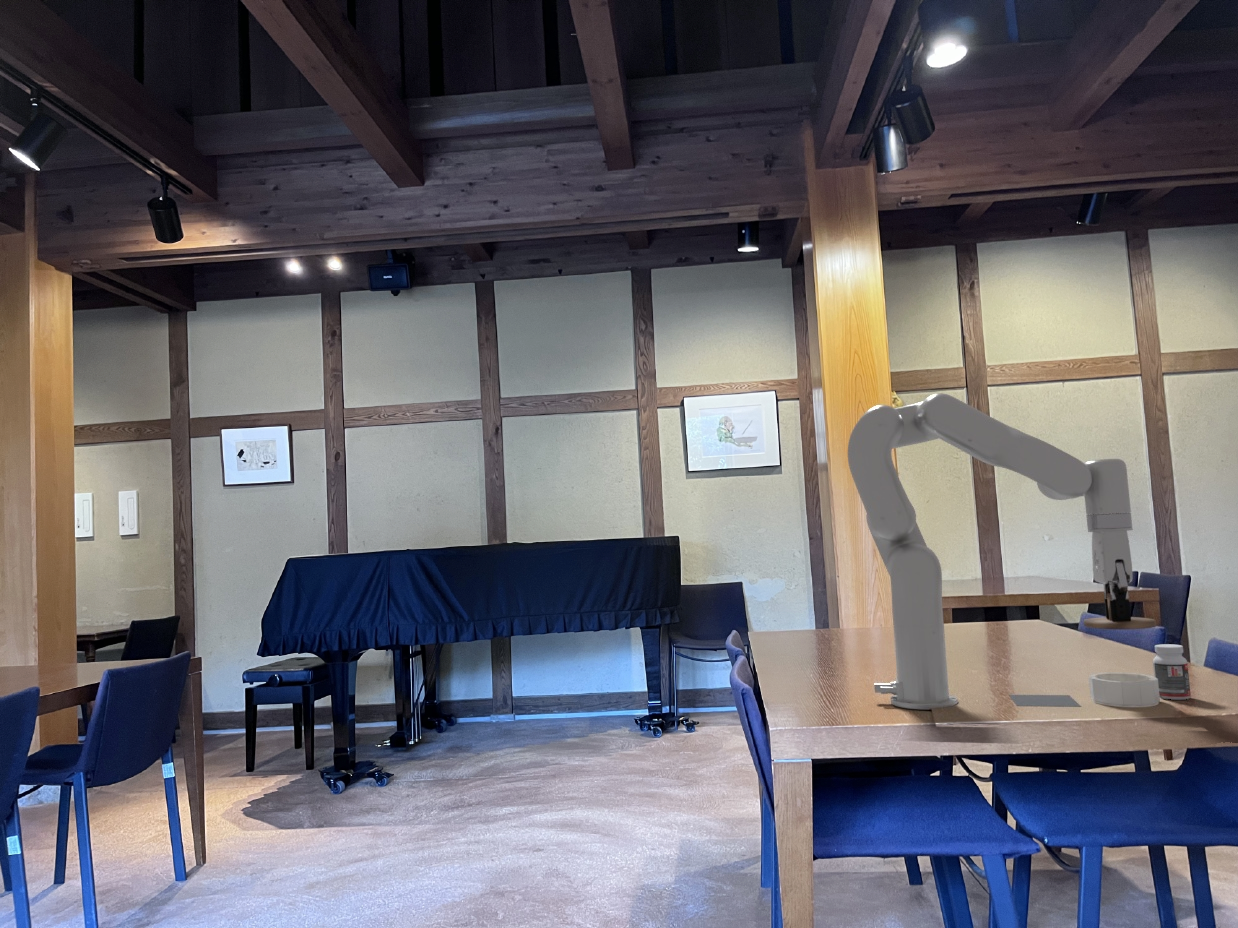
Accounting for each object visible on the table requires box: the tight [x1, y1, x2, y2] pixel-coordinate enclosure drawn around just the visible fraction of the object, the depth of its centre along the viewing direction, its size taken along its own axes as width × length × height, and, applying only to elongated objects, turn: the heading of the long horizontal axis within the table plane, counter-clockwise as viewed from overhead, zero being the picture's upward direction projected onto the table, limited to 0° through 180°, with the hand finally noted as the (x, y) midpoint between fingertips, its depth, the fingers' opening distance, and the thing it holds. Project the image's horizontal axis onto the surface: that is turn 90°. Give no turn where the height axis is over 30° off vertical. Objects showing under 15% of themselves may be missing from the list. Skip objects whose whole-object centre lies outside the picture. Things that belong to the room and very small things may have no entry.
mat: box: [1008, 694, 1082, 708], centre depth 170 cm, size 11×11×1 cm
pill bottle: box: [1152, 643, 1192, 701], centre depth 170 cm, size 6×6×10 cm
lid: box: [1083, 593, 1157, 630], centre depth 167 cm, size 12×12×6 cm
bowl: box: [1088, 672, 1161, 708], centre depth 166 cm, size 11×11×5 cm
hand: (1118, 619), depth 167 cm, fingers closed on lid, 3 cm apart
